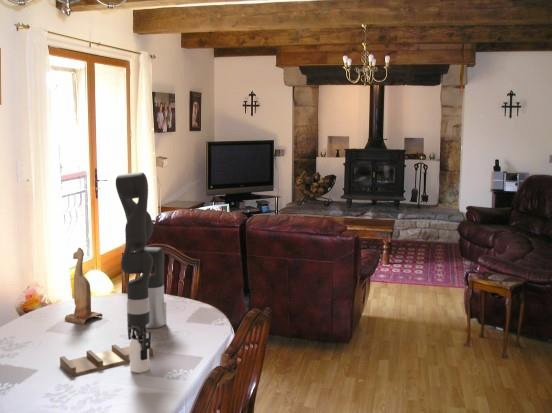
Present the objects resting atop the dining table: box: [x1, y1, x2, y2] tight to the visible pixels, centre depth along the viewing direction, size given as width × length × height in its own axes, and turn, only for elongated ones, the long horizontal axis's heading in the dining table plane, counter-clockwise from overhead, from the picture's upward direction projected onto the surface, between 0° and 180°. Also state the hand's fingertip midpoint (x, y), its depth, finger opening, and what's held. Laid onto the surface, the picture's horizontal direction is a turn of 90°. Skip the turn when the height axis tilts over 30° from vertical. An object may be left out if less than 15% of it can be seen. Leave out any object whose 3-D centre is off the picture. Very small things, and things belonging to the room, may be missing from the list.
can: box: [129, 336, 150, 374], centre depth 212 cm, size 6×6×12 cm
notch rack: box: [59, 344, 154, 377], centre depth 220 cm, size 30×12×3 cm, turn 127°
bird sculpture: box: [64, 247, 103, 326], centre depth 262 cm, size 11×12×32 cm
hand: (139, 356), depth 212 cm, fingers closed on can, 6 cm apart
